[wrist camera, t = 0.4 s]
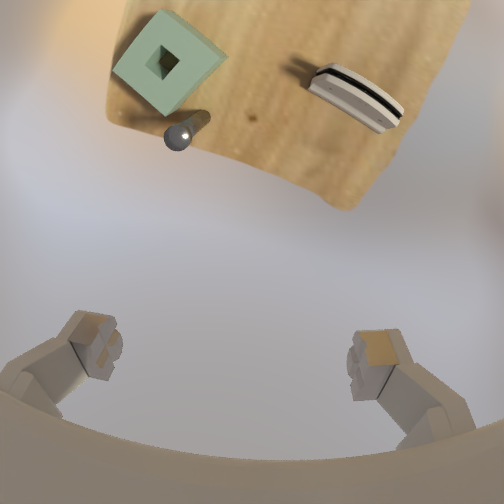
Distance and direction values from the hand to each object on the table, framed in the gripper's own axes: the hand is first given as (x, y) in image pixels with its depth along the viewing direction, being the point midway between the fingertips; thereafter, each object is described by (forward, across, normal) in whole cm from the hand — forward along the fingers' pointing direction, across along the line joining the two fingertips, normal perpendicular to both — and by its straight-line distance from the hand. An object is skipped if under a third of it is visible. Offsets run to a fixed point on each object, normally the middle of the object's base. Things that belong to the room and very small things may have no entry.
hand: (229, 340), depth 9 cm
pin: (+52, +12, -4) cm, 54 cm away
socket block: (+50, +17, -17) cm, 56 cm away
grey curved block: (+49, -16, -10) cm, 53 cm away
